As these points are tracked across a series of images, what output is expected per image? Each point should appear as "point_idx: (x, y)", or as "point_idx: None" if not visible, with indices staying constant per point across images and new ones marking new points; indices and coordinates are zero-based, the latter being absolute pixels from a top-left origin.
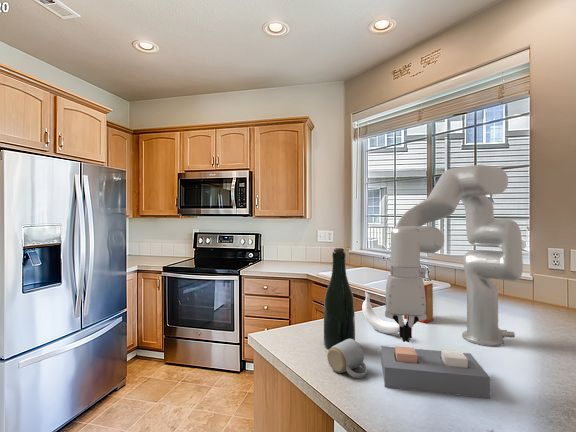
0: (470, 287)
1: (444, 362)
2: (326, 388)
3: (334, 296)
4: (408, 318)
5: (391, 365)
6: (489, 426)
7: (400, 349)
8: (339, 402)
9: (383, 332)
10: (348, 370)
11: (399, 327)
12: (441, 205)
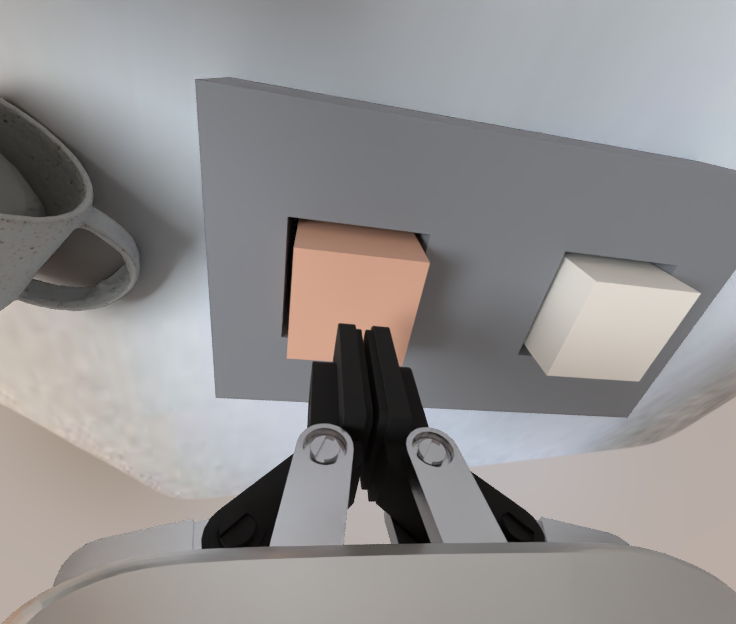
0: None
1: (540, 320)
2: None
3: None
4: (427, 507)
5: (251, 379)
6: (477, 463)
7: (321, 303)
8: (78, 435)
9: None
10: (34, 296)
11: (310, 421)
12: None
